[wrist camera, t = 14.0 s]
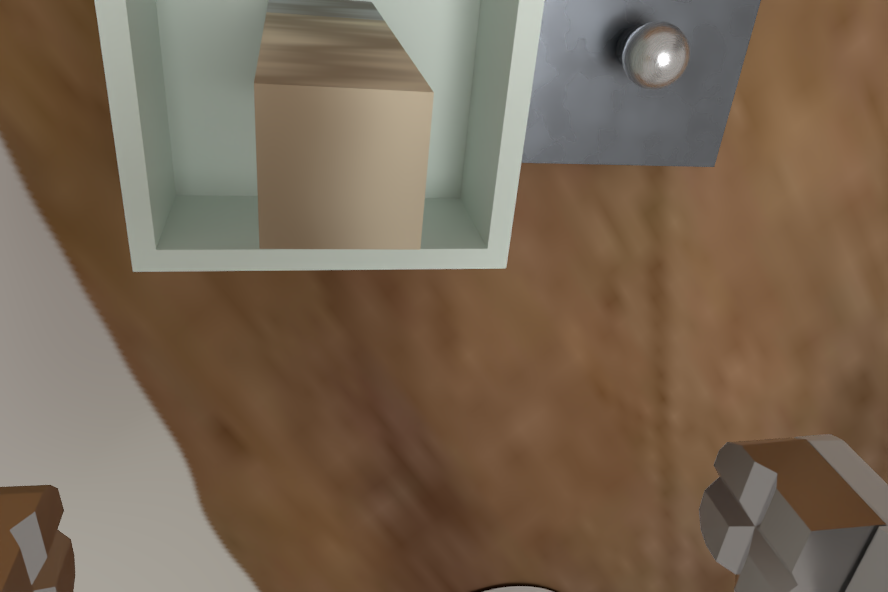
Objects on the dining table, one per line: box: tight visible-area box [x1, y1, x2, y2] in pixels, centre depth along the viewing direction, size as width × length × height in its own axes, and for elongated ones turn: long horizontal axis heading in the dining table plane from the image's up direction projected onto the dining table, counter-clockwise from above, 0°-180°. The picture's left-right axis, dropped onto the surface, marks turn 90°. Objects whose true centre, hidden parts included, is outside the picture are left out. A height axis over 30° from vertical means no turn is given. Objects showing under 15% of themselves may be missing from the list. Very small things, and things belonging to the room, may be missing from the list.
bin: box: [94, 0, 545, 272], centre depth 30 cm, size 16×16×7 cm
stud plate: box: [521, 0, 761, 167], centre depth 34 cm, size 12×12×5 cm
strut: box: [254, 0, 434, 250], centre depth 25 cm, size 4×4×16 cm
